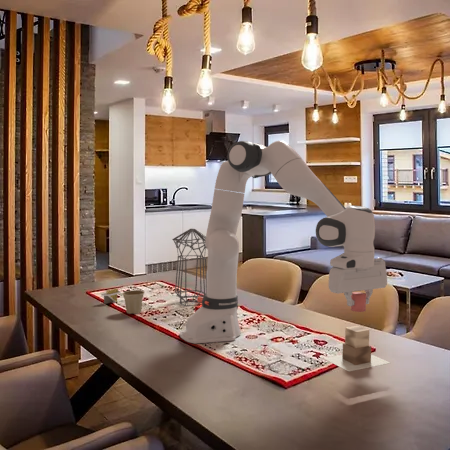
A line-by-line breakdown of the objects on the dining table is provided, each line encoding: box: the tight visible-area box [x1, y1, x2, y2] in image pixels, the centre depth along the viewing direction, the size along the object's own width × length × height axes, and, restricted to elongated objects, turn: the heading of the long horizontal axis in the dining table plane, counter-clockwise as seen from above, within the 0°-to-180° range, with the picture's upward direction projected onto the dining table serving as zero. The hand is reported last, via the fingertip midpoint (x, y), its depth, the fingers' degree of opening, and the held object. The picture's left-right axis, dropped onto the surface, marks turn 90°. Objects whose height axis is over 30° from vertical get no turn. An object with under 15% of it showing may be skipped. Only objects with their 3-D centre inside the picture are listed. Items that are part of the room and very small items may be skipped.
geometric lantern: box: [172, 228, 207, 307], centre depth 226 cm, size 16×16×35 cm
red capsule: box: [350, 291, 367, 313], centre depth 149 cm, size 4×4×5 cm
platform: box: [100, 288, 121, 305], centre depth 229 cm, size 12×18×7 cm, turn 145°
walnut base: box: [341, 342, 372, 365], centre depth 150 cm, size 6×6×5 cm
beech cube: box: [344, 325, 370, 348], centre depth 150 cm, size 5×5×5 cm
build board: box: [323, 353, 391, 373], centre depth 151 cm, size 16×12×1 cm
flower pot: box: [122, 289, 145, 315], centre depth 211 cm, size 9×9×9 cm
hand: (358, 304), depth 149 cm, fingers closed on red capsule, 4 cm apart
